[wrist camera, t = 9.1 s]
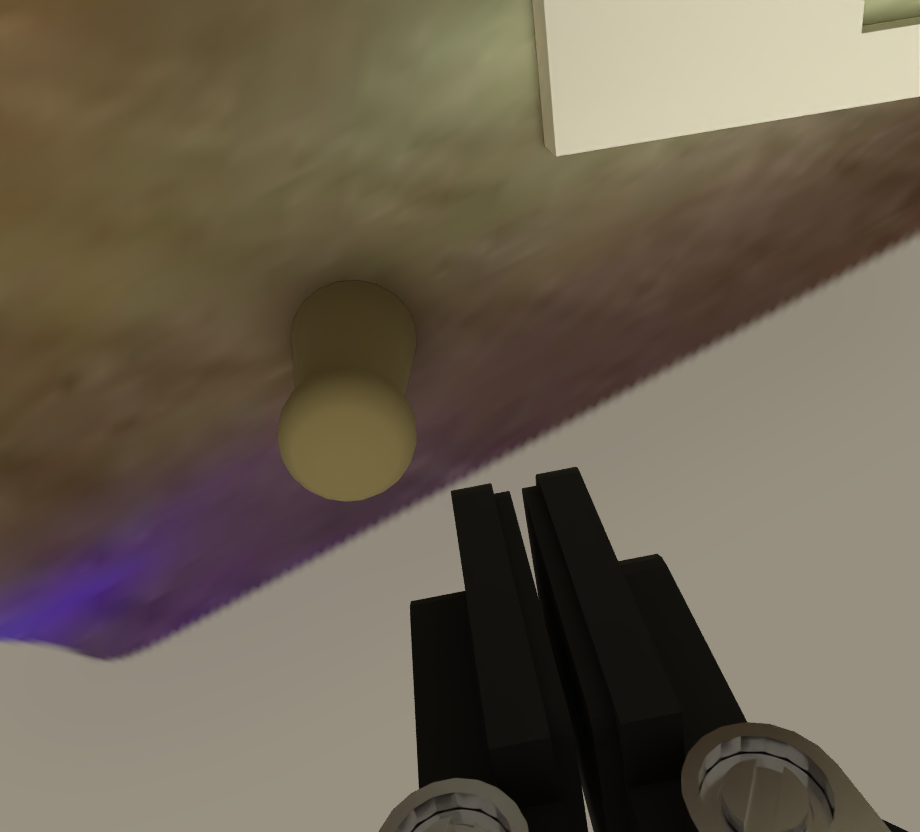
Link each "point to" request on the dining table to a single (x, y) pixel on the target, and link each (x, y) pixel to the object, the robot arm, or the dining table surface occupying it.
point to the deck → (709, 65)
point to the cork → (349, 392)
